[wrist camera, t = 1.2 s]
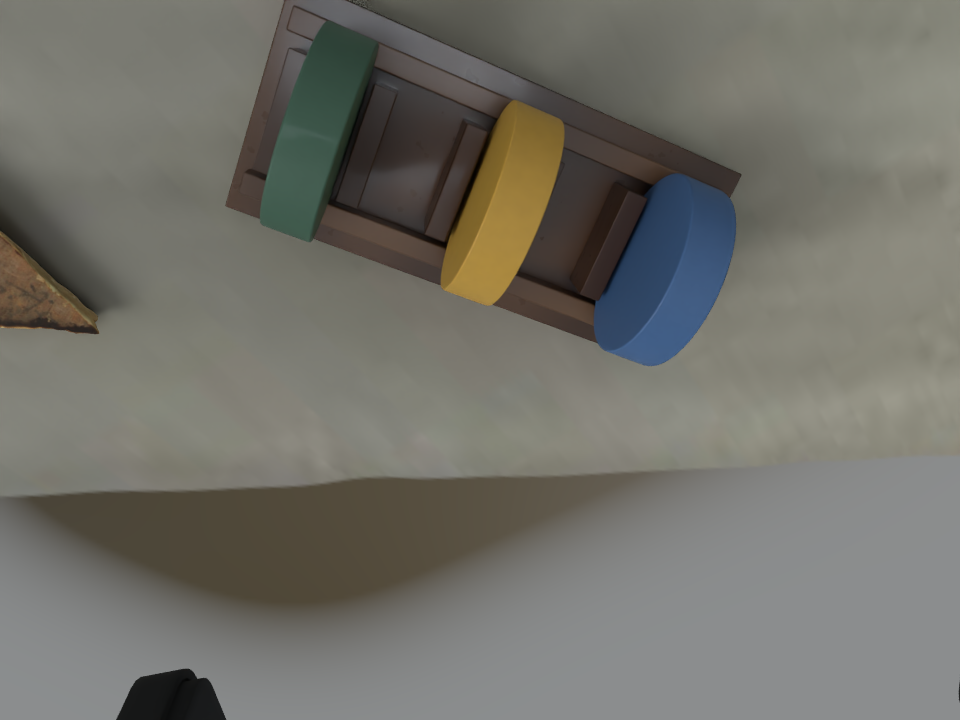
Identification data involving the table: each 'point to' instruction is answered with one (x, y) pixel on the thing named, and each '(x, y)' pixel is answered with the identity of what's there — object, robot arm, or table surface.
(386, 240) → the disc rack
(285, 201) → the green disc
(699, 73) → the table surface
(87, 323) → the shard
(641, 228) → the blue disc
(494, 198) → the mustard disc
